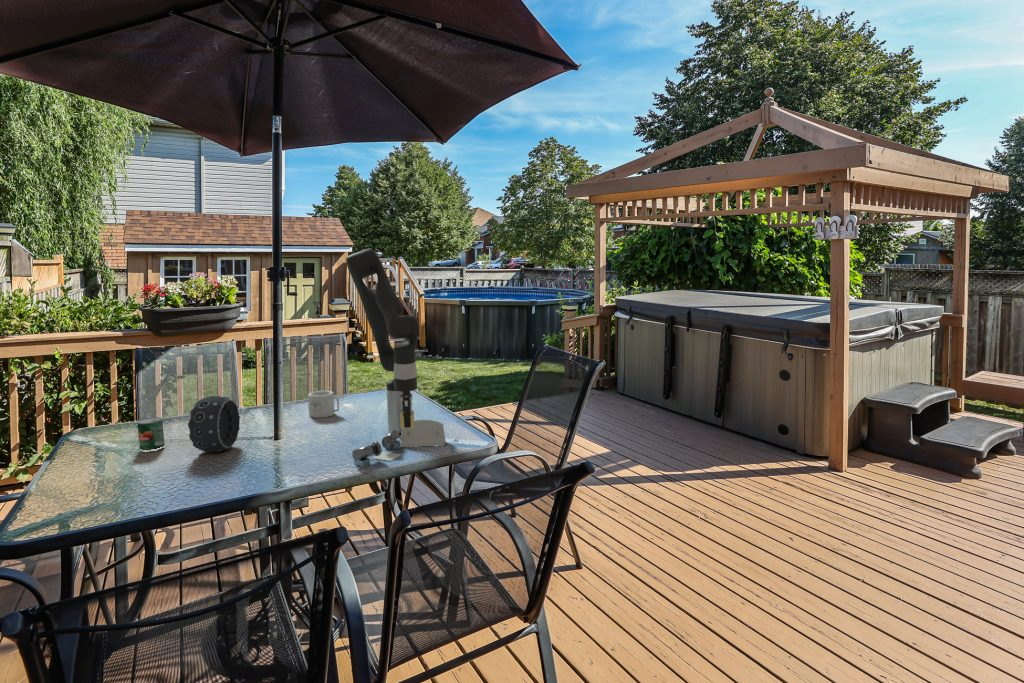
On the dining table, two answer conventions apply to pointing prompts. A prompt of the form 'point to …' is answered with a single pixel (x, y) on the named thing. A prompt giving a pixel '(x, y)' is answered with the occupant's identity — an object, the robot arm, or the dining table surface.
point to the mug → (322, 404)
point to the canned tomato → (150, 433)
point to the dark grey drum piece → (214, 424)
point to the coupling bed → (386, 456)
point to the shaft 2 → (391, 440)
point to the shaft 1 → (366, 454)
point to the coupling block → (403, 419)
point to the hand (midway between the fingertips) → (407, 424)
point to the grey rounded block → (423, 434)
